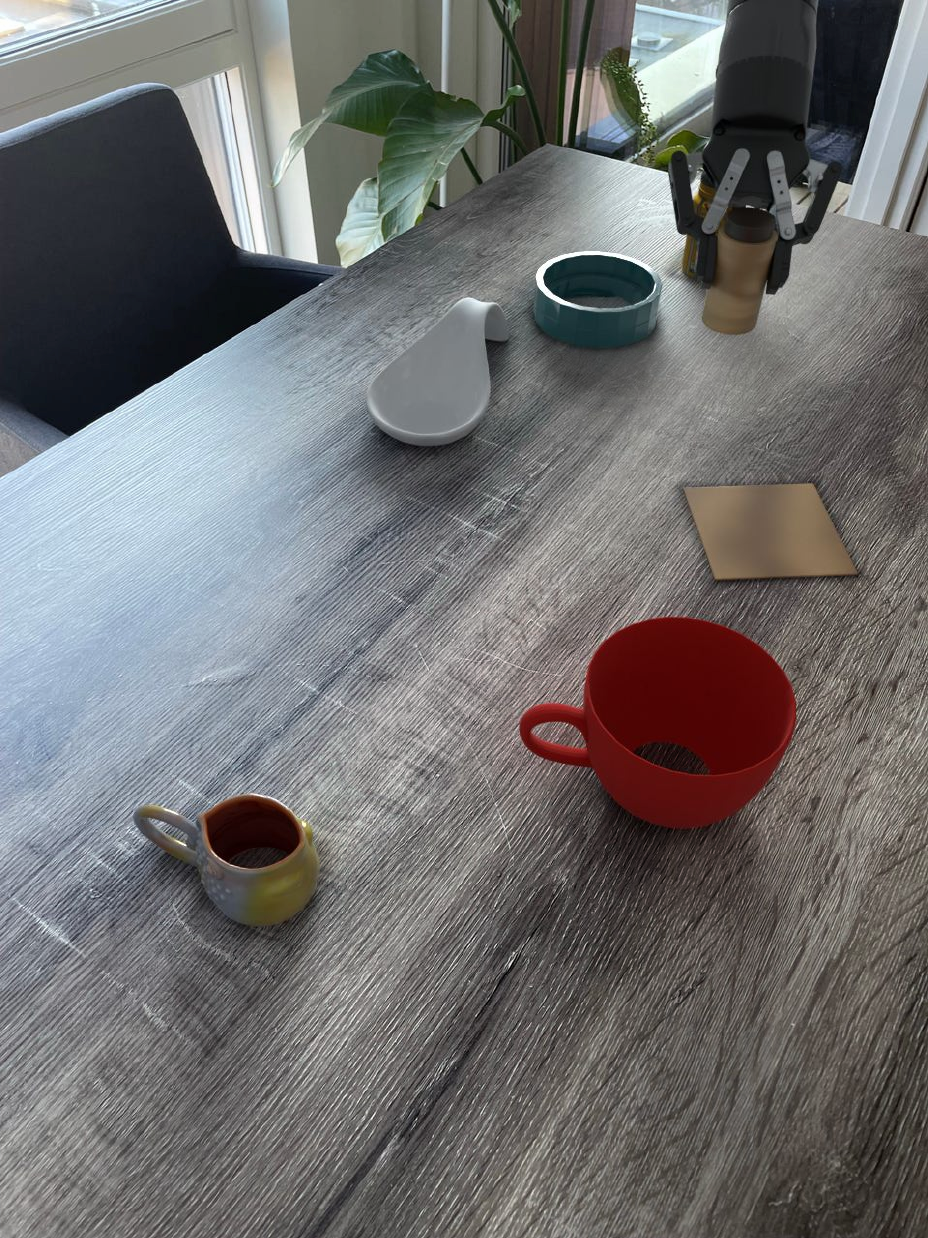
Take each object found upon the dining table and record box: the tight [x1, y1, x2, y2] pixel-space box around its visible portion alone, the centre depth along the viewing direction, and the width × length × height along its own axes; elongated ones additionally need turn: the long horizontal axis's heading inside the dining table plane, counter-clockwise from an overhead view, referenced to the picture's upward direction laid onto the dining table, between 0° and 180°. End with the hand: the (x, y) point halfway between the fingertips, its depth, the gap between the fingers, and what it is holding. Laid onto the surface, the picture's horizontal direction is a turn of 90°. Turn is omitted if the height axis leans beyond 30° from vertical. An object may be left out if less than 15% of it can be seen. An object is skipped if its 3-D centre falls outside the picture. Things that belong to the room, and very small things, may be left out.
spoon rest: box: [364, 297, 510, 447], centre depth 99 cm, size 24×12×7 cm, turn 160°
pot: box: [532, 251, 663, 349], centre depth 110 cm, size 14×14×5 cm
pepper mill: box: [701, 206, 777, 336], centre depth 82 cm, size 5×5×9 cm
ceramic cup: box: [518, 616, 797, 830], centre depth 65 cm, size 13×17×10 cm
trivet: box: [682, 483, 859, 581], centre depth 86 cm, size 12×12×1 cm
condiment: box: [681, 170, 747, 280], centre depth 115 cm, size 7×8×12 cm
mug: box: [132, 792, 321, 928], centre depth 61 cm, size 12×7×7 cm, turn 69°
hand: (739, 287), depth 81 cm, fingers closed on pepper mill, 4 cm apart
